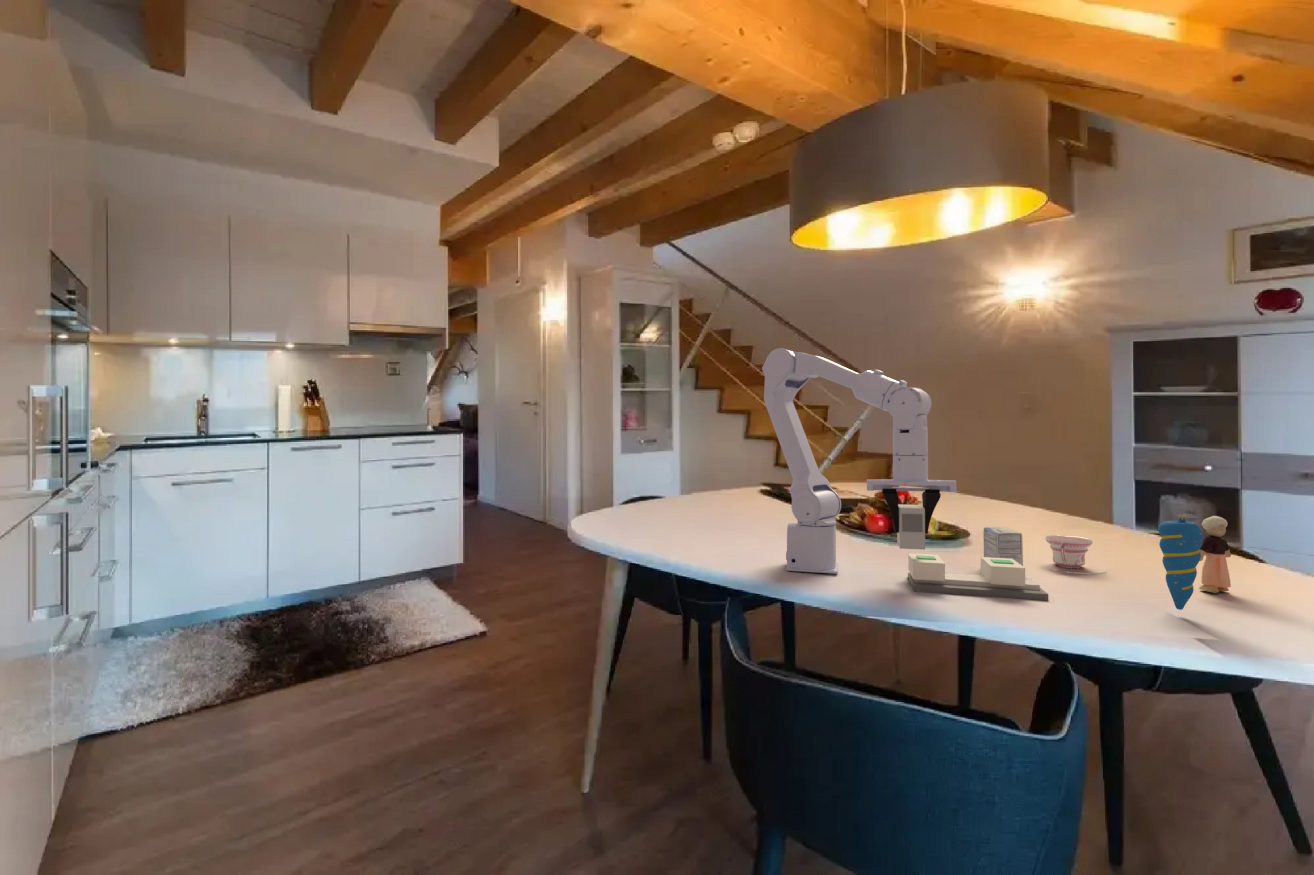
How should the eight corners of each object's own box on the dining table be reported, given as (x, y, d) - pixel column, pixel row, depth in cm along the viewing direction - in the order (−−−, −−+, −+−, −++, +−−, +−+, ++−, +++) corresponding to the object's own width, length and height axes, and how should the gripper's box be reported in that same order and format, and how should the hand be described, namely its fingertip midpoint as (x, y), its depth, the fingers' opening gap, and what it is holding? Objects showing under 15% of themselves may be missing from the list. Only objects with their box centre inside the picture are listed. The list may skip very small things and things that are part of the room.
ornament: (1149, 605, 93) (1149, 509, 93) (1179, 604, 94) (1179, 508, 94) (1181, 615, 88) (1180, 513, 88) (1213, 614, 89) (1212, 512, 89)
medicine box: (1023, 580, 110) (1023, 533, 110) (997, 579, 111) (997, 532, 111) (1007, 571, 118) (1007, 527, 118) (983, 570, 119) (982, 526, 119)
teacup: (1043, 560, 128) (1043, 531, 128) (1112, 569, 119) (1112, 538, 119) (1026, 569, 120) (1026, 538, 120) (1100, 579, 111) (1100, 546, 111)
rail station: (913, 591, 102) (913, 561, 102) (907, 577, 112) (907, 551, 112) (1048, 600, 96) (1048, 569, 96) (1029, 585, 106) (1029, 557, 106)
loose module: (900, 548, 103) (899, 508, 103) (897, 542, 109) (896, 504, 109) (925, 549, 102) (924, 508, 102) (921, 543, 108) (920, 504, 108)
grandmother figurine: (1220, 595, 99) (1219, 518, 99) (1191, 589, 103) (1190, 516, 103) (1240, 589, 103) (1240, 515, 103) (1211, 584, 106) (1211, 513, 106)
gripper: (867, 455, 104) (867, 533, 104) (959, 456, 100) (960, 537, 100) (866, 454, 111) (866, 528, 111) (952, 454, 106) (953, 531, 106)
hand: (910, 532), depth 106 cm, fingers closed on loose module, 4 cm apart
